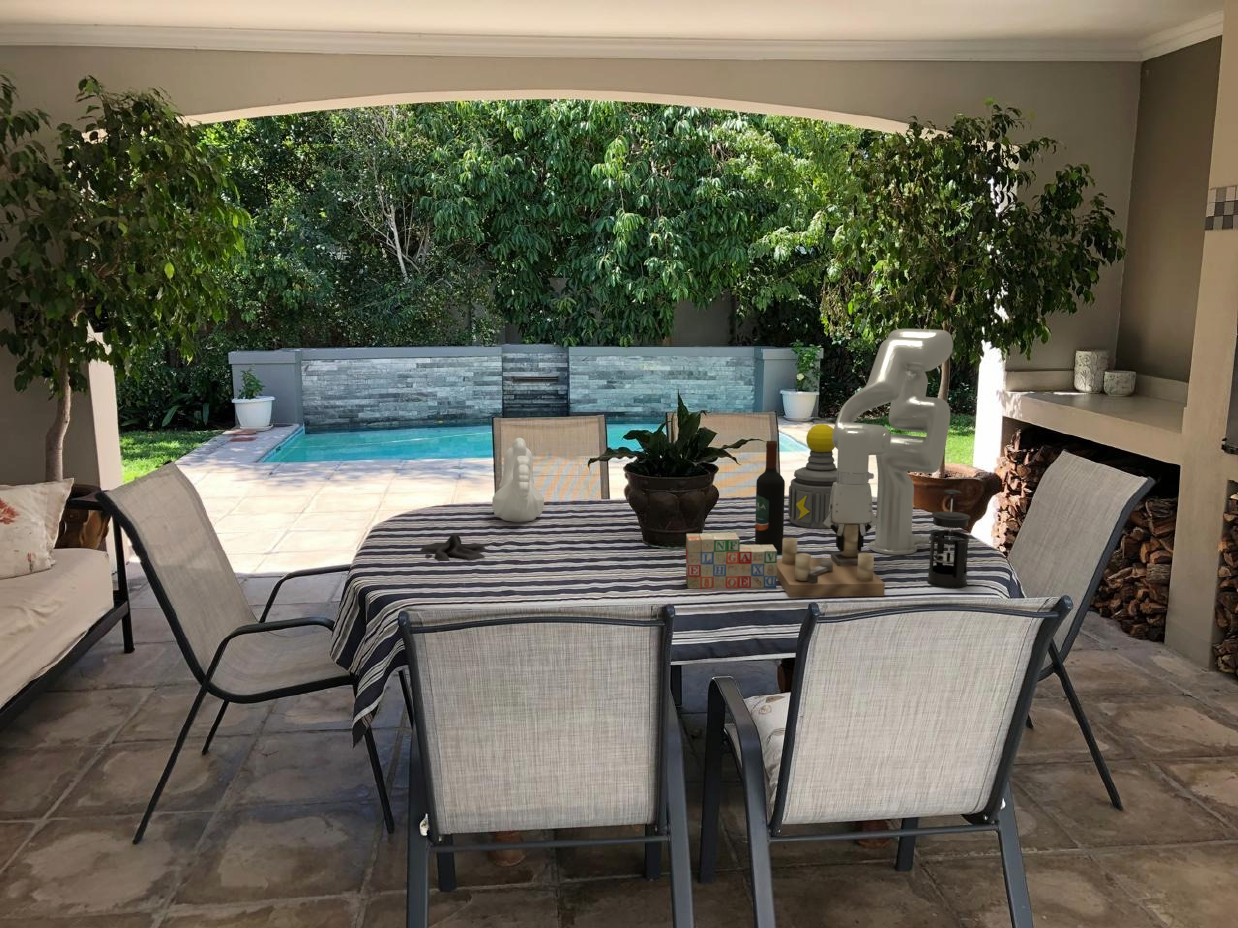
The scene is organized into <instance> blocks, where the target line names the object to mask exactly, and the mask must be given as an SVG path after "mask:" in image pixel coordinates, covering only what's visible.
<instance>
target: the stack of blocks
mask: <svg viewBox="0 0 1238 928" xmlns="http://www.w3.org/2000/svg"><path fill="white" fill-rule="evenodd" d="M685 537H686V538H685V539H686V540H685V541H686V543H685V545H686V546H685V583H686V585H687V589H701V590H702V589H771V588H772V589H773V588H774V589H776V588H777V576H776V575H777V559H778V554H777V550H776V549H775V548H774V546H773V545H755V544H740V543H741V540H740V537H739V536H738V535H737V533H736V532H726V533H725V532H712V533H686V535H685Z"/></svg>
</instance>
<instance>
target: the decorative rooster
mask: <svg viewBox="0 0 1238 928" xmlns="http://www.w3.org/2000/svg"><path fill="white" fill-rule="evenodd" d="M533 461H534V458H533V453H532V452H531V450H530V449H529V448H528V447H527V443H526V440H525V439H524V438H523V437H517V438H515V439H514V440H513V442H512V446H510V447H509V448H508V449H507V450H506V451H505V454H504V459H503V471H502V472H503V473H502V477H501V479H500V482H499V485H498V487H499V489H498V490H497V491H496V492H495V493H494V495H493V496H492V499H491V501H492V502H491V503H492V504H491V505H492V506H491V507H492V510H493V513H494V515H495V516H498V517H499V519H501V520H503V521H506V522H513V523H526V522H532V521H534V520H536V519H537V517H541V516H542V513H543V511H544V506H545V504H544V503H545V498H544V496H543V494H542V493H541V491H540V490H539V489H538V488H537V487H536V486H535V482H534V470H533V469H534V463H533Z"/></svg>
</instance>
